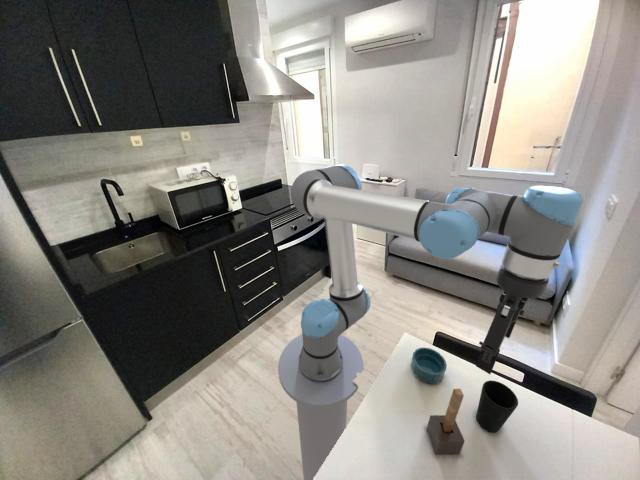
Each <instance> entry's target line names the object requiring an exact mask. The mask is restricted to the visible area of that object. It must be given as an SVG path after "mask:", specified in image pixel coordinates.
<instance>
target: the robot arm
mask: <svg viewBox="0 0 640 480" xmlns="http://www.w3.org/2000/svg"><path fill="white" fill-rule="evenodd" d="M362 187H363V186H362V181H361V177H360V175H359V173H358V172H357V171H356V170H354V169H353V168H352V167H351V166H349V165H347V164H333V165H329V166H325V167H321V168H320V167H319V168H315V169H309V170H306V171H304V172H302V173H300V174H299V175H298V176H297V177H296V178H295V179H294V180H293V182H292V186H291V188H290V198H291V202H292V204H293V205H294V207H295V208H296V210H298V212H300V213H301V214H302V215H303V214H304V215H306V216H308V217H310V218H315V219H323V220H324V221H323V222H324V226H325V227H324V228H325V229H324V230H325V235H326V243H327V250H328V251H327V252H328V259H329V267H330V275H331V284H330V285H329V287H328V293H329V297H328V299H327V298H321V299H320V300H319V299H314V300H312V301H310V302H309V303H308V304H306V306H305V307H304V308H303V310H302V312H301V319H300V327H301V335H302V338H303V347H302V350H301V353H300V355H299V368H300V371H301V373H302V374H303V375H304V376H305V377H306V378H307V379H309V380H311V381H314V382H327V381H330V380H332V379H334V378H335V377H337V376H338V375H339V373H340V372H341V370H342V366H343V357H342V353H341V351H340V349H339V346H338V337H339V336H340V335H343V334H344V332H346V331H347V330H349V328H351V327H352V326H353V325H354V324H356V323H357V322H358V321H360V320H361V319H362V318H363V317H365V315H366V314H367V313H368V312H369V310H370V308H371V297H370V294H369V293H368V292H367V289H366V288H365V287H364V286H363V284H362V283H361V282H360V281H359V280H358V272H357V261H356V251H355V239H354V229H353V228H354V227H353V225H356V226H360V227H363V228H364V227H365V228H367V229H371V230H375V231H378V232H382V233H386V234H390V235H392V236H397V237H400V238H404V239H408V240H410V241H411V240H412V241H415V242H418V243H420V244H421V246H422V248H423V249H424V250H425V251H427V253H429V254H430V255H431V256H433V257H435V258H436V259H437V258H438V259H443V260H449V259H454V258H456V257H459V256H461V255H463V254H464V253H465V252H468V251H469V250H470V249H472V248H473V246H475V245H476V243H477V241H478V240H479V239H480V238H481V237H482V236H483V235H485V234H486V233H491V234H495V235H499V236H505V237H509V240H508V243H507V244H506V247H505V251H504V254H503V257H502V259H501V265H500V266H499V270H498V273H497V276H496V283H497V285H498V286H499V288H501V289H502V290H503V293H501V294H500V297H499V299H498V300H499V302H498V305H497V307H496V308H495V314H494V317H493V319H492V321H491V324H490V326H489V329H488V331H487V333H486V334H485V335H486V336H485V338H484V340H483V341H479V342H478V345H480V353H479V356H478V359H477V361H476V364H475V367H476V368H478V369H479V370H481V371H483V372H484V373H487V374H489V375H491V374H492V372H493V369H494V366H495V364H496V362H497V359H498V357H499V354H500V352H501V347H502V344H503V342H504V340H505V338H507V339H510V337H511V335H512V332H513V330H514V328H515V325H516V323H517V321H518V319H519V316H521V317H522V316H524V313H525V310H524V308H525V305H526V304H527V302H528V300H529V299H538V298H540V297H542V296H543V295H544V293H545V291H546V289H547V287H548V284H549V282H550V277H551V276H552V274H553V272H554V270H555V268H557V269H559V268H561V266H562V263H561V262H559V258H560V256H561V254H562V252H563V250H564V248H565V246H566V243H567V241H568V240H569V237H570V235H571V233H572V230H573V229H574V226H575V224H576V221H577V220H578V216H579V213H580V211H581V208H582V206H583V202H584V199H583V196H582V195H581V194H580V193H579V192H578V191H575V190H572V189H570V188H567V187H559V186H552V185H549V186H547V185H546V186H545V185H533V186H530V187H528V188H527V189H525V192H524V193H523V194H522V195H515V194H507V193H503V192H495V191H488V190H483V189H478V188H476V187H470V188H468V187H461V186H460V187H455V188H453V189H452V190H451V191H450V193H449V194H448V195H447V197H446V199H445V201H444V202H445V203H444V202H437V201H431V200H427V199H421V198H414V197H408V196H400V195H396V194H389V193H383V192H378V191H377V192H375V191H369V190H363V188H362Z"/></svg>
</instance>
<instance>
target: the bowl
mask: <svg viewBox="0 0 640 480" xmlns="http://www.w3.org/2000/svg"><path fill="white" fill-rule="evenodd" d="M410 369H411V371H412V373H413V374H414V376H415V377H416V378H417V379H419V380H420V381H422V382H423V383H426V384H431V385H432V384H433V385H435V384H439V383H441V382H442V381H443V380H444V379H445V375H446V372H447V361H446V359H445V357H444V356H443V354H441V353H440V352H438V351H437V350H436V349H432V348H430V347H419V348H416V349H415V350H413V352H412V356H411V362H410Z"/></svg>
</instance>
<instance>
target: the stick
mask: <svg viewBox="0 0 640 480" xmlns="http://www.w3.org/2000/svg"><path fill="white" fill-rule="evenodd" d="M464 396H465V394H464V393H463V390H462V389H461V388H453V389H452V392H451V396H450V399H449V401H448V404H447V409H446V411H445V417H444V421H443V424H442V430H443V432H444V433H451V430H452V428H453V425H454V422H455V420H456V419H457V416H458V413H459V411H460V407H461V406H462V405H461V404H462V402H463V399H464Z"/></svg>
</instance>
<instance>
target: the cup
mask: <svg viewBox="0 0 640 480" xmlns="http://www.w3.org/2000/svg"><path fill="white" fill-rule="evenodd" d="M518 406H519V399H518V397H517V395H516V393H515V392H514V391H513V390H512V389H511V388H510V387H509V386H507V385H506V384H504V383H502V382H500V381H497V380H486V381H484V382H483V384H482V388H481V392H480V396H479V400H478V406H477V411H476V415H475V420H476V422H477V424H478V425H479V426H480V428H481V429H483V430H484V431H486V432H487V433H490V434H497V433H498V432H499V431H500V430H501V429H502V427H503V426H504V425H505V423H506V422H507V421H508V419H509V418H510V417H511V416H512V414H513V413H514V411H515V410H516V409H517V407H518Z"/></svg>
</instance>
